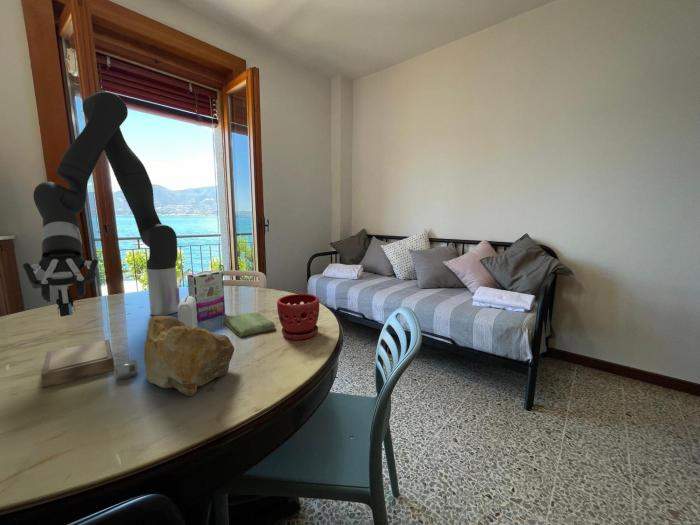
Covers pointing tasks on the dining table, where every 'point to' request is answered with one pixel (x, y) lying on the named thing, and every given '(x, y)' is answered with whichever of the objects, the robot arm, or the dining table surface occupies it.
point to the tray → (77, 362)
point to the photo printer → (188, 311)
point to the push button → (63, 291)
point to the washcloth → (249, 323)
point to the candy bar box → (207, 293)
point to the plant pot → (298, 315)
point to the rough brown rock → (184, 355)
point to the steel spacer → (126, 369)
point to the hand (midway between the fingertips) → (64, 298)
